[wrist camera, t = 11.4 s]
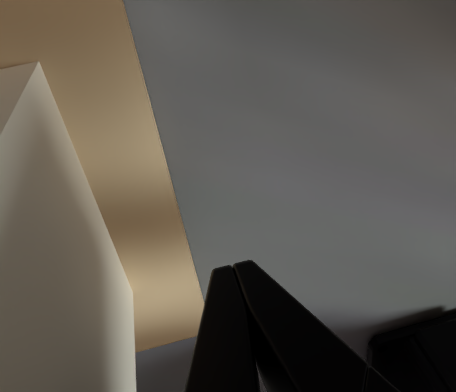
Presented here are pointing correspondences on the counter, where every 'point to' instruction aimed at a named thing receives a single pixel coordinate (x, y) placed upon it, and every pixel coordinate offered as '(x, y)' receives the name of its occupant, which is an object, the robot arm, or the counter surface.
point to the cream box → (55, 257)
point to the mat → (114, 149)
